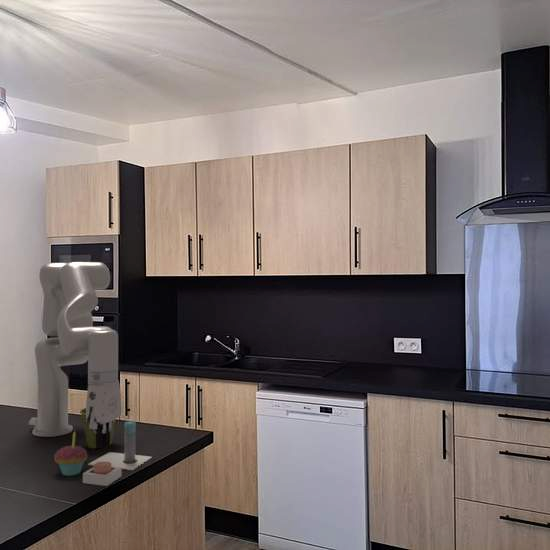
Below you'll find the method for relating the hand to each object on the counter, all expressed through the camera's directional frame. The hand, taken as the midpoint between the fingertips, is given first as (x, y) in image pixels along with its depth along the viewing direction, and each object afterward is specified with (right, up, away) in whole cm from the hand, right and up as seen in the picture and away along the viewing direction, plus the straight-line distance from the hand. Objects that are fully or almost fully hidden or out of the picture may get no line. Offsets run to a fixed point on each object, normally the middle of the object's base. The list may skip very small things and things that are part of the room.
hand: (102, 447), depth 150 cm
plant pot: (-10, -8, +29) cm, 32 cm away
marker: (+4, -8, +14) cm, 16 cm away
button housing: (0, -9, 0) cm, 9 cm away
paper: (+1, -8, +15) cm, 17 cm away
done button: (0, -7, 0) cm, 7 cm away
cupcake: (-10, -9, +5) cm, 14 cm away
